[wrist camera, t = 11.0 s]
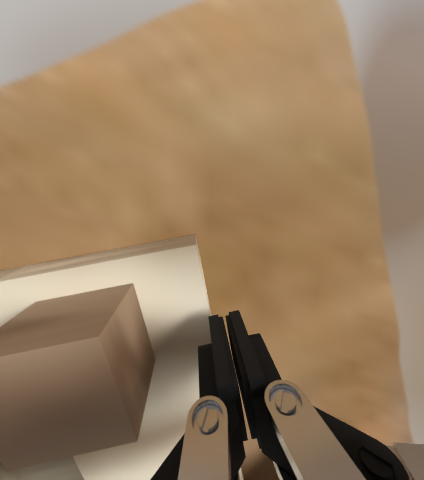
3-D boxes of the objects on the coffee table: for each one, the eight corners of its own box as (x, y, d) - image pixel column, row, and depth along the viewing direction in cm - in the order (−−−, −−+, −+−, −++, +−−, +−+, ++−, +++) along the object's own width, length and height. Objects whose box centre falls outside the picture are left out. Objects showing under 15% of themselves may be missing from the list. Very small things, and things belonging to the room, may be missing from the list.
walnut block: (155, 359, 12) (137, 441, 8) (69, 377, 12) (7, 471, 8) (133, 282, 11) (98, 336, 7) (35, 301, 10) (-58, 368, 6)
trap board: (246, 493, 19) (253, 536, 17) (-58, 569, 18) (-96, 628, 16) (195, 234, 13) (196, 244, 10) (-288, 324, 11) (-416, 360, 9)
